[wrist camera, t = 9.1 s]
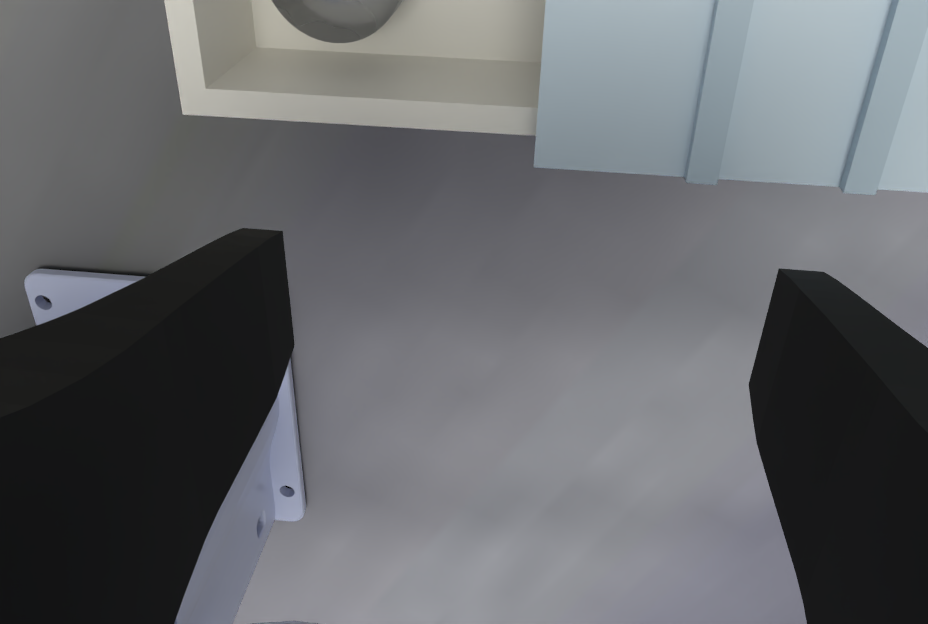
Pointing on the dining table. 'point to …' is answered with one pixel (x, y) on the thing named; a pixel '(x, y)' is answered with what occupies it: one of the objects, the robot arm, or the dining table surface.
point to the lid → (738, 91)
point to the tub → (364, 66)
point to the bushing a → (337, 17)
